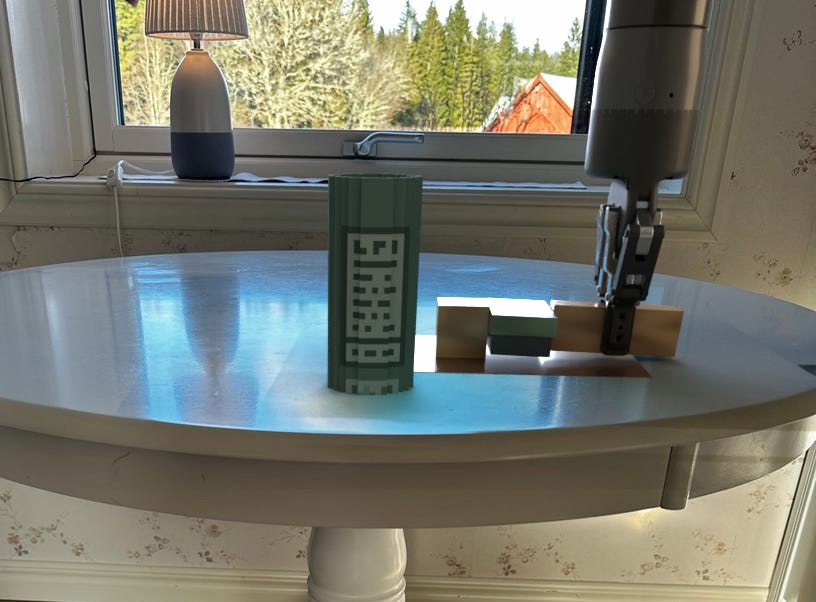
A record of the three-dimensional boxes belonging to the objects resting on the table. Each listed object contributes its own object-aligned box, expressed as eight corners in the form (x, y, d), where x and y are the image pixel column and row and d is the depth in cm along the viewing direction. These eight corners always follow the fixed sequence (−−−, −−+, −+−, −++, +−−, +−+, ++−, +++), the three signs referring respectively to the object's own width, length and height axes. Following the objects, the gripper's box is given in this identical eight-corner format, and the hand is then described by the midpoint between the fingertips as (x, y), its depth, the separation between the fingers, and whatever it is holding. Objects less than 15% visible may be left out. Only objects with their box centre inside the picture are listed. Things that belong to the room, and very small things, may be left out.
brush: (660, 343, 80) (668, 300, 79) (683, 365, 73) (693, 317, 72) (481, 334, 81) (485, 291, 79) (487, 355, 74) (492, 307, 72)
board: (616, 356, 84) (618, 339, 83) (650, 397, 72) (653, 377, 71) (389, 351, 85) (389, 334, 84) (384, 391, 73) (385, 371, 72)
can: (407, 393, 72) (416, 173, 65) (415, 415, 67) (426, 178, 60) (326, 393, 72) (327, 172, 65) (328, 415, 67) (329, 177, 60)
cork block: (482, 348, 80) (486, 298, 78) (485, 358, 76) (489, 306, 74) (434, 347, 80) (437, 297, 78) (435, 357, 76) (438, 305, 74)
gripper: (726, 104, 62) (678, 372, 71) (675, 106, 75) (639, 334, 83) (609, 103, 63) (576, 369, 71) (578, 105, 75) (552, 332, 83)
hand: (610, 349), depth 77 cm, fingers closed on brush, 2 cm apart
